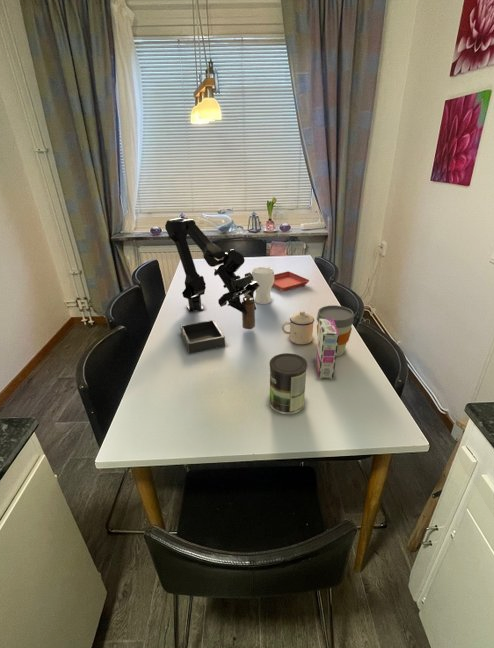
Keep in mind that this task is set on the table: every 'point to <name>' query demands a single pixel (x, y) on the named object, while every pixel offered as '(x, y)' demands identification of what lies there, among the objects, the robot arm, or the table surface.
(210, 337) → the dark grey tray
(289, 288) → the plant saucer
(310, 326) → the teacup with lid
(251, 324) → the pepper mill
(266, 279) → the white vase
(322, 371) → the candy bar box
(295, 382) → the coffee can
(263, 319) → the table surface
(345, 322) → the reusable coffee cup
